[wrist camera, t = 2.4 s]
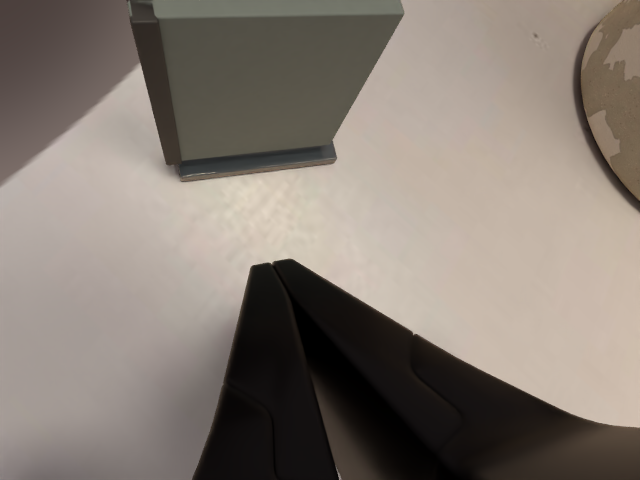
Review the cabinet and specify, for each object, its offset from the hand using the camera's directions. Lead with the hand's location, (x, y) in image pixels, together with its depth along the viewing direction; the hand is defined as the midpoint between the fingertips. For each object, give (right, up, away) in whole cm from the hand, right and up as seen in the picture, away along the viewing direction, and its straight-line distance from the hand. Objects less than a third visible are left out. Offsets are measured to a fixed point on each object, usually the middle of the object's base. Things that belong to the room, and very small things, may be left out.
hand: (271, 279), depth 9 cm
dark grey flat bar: (-3, +5, +13) cm, 14 cm away
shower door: (-2, +5, +12) cm, 13 cm away
